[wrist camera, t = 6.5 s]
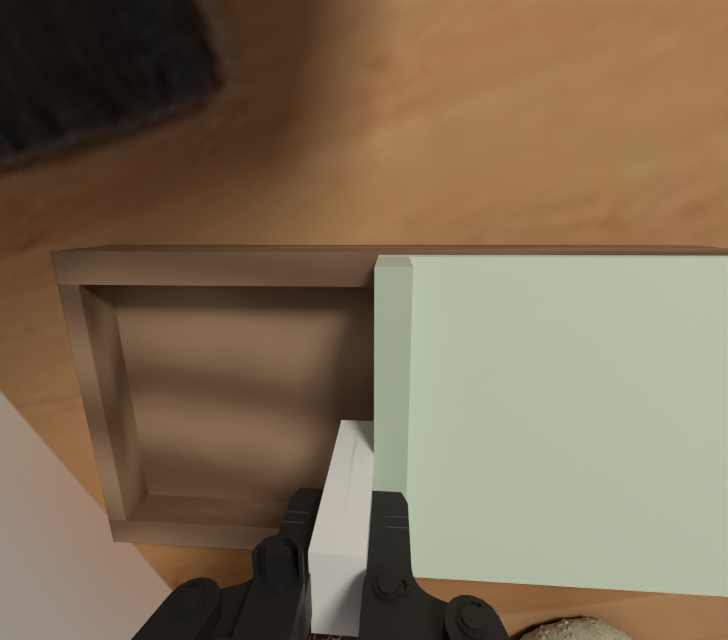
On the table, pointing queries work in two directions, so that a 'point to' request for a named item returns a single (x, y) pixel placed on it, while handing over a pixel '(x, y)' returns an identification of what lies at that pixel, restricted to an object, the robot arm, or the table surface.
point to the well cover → (557, 417)
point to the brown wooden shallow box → (230, 373)
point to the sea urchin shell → (577, 631)
